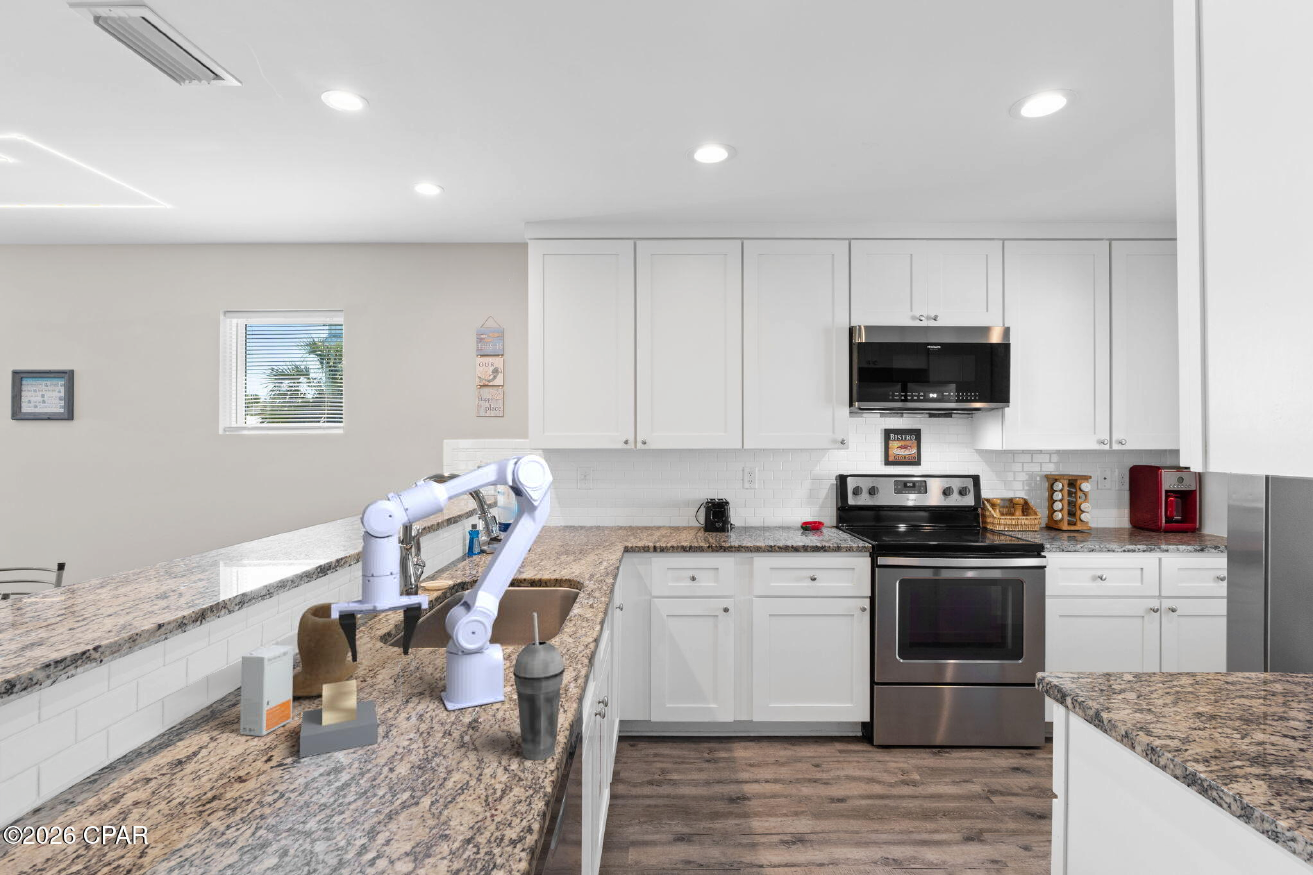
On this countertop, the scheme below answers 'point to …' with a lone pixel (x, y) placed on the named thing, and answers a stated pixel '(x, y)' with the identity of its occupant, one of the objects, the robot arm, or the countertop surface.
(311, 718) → the base block
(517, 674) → the beverage cup
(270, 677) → the skincare box
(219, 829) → the countertop surface
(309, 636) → the stone cup
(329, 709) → the maple cube
